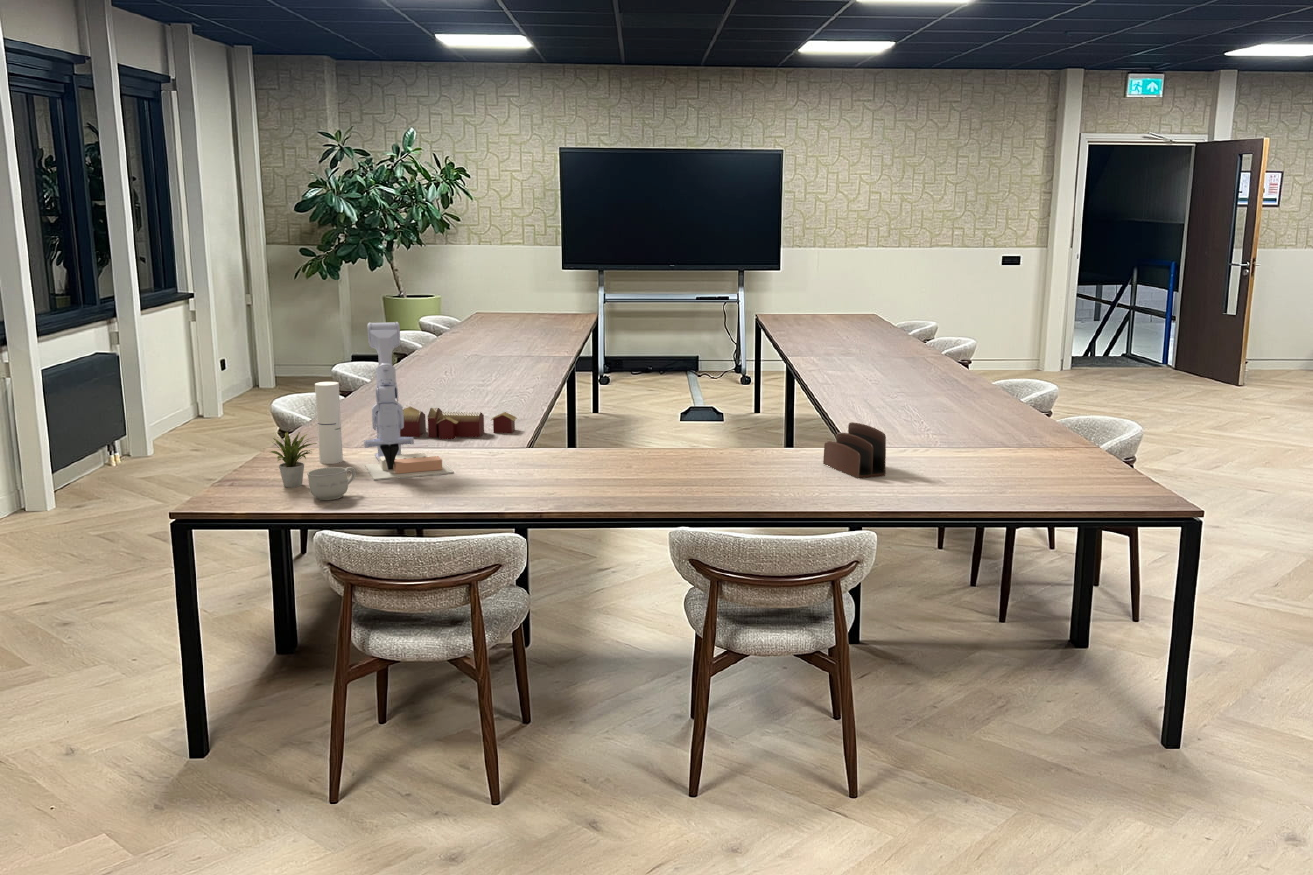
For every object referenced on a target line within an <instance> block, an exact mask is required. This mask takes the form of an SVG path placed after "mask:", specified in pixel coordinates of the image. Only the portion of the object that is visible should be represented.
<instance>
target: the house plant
mask: <svg viewBox="0 0 1313 875" xmlns="http://www.w3.org/2000/svg"><path fill="white" fill-rule="evenodd" d="M300 434H301V431H299V432H298V433H297V434H296V436H295V437H294V438H293V441H292V442H291V437H290V435H289V432H288V430H286V432H285V433H284V438H282V437H279V436H278V437H276V438H279V439H281V440H282V441H283V442H284V444H283V443H282V442H280V441H279V440H277V439H276V438H273V440H274V441H271V442H272V444H274V445H275V446H276V447H277V449H278V450H280V451H281V453H280V452H278V451H276V450H272V451H269V453H271V454H275V455H278V456H277V462H279V461H281V460H282V461H283V462H282V463H280V464H278V469H279V473H280V475H281V480H282V484H283V485H282V486H283V487H284V486H285V488H289V489H291V488H298V487H301V486H303V479H304V471H305V469H304V468H305V463H304V462H303V461H302V462H301V461H300V460H301V459H302V458H304V459H305V460H307V458H306V455H309V454H311V455H312V454H314V453H313V451H312V450H315V449H305V450H303V449H304V448H308V447H309V446H312V445H316V444H318V442H317V443H316V442H314V443H313V442H311V443H309V440H311V439H312V437H310V438H307V439H305V438H306V437H307V435H308V433H306V434H303V435H302V436H301V437H300V439H299V436H300ZM315 438H316V436H315V437H314V436H313V439H315ZM298 439H299V440H298ZM304 439H305V440H304ZM277 445H278V446H277ZM301 450H302V451H301Z"/></svg>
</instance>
